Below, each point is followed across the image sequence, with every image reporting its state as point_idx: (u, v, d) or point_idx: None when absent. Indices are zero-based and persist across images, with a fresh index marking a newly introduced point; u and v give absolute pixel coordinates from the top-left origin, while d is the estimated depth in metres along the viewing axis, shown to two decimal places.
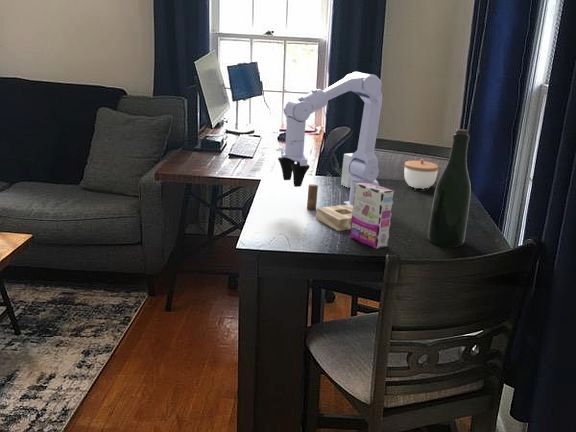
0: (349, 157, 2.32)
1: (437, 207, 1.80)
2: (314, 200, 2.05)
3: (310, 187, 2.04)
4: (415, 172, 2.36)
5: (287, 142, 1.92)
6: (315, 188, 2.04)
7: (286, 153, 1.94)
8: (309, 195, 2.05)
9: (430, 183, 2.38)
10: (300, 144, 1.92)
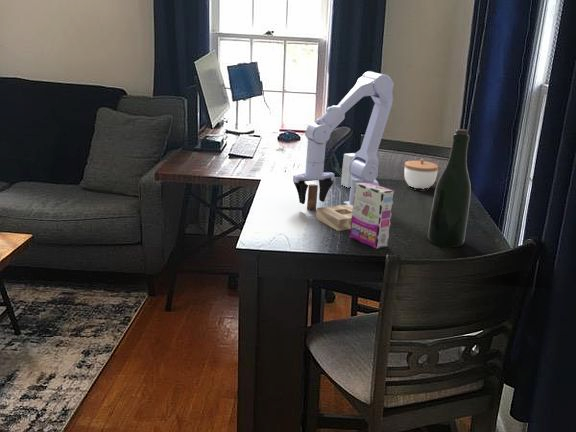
0: (349, 157, 2.32)
1: (437, 207, 1.80)
2: (314, 200, 2.05)
3: (310, 187, 2.04)
4: (415, 172, 2.36)
5: None
6: (315, 188, 2.04)
7: None
8: (309, 195, 2.05)
9: (430, 183, 2.38)
10: (308, 164, 2.01)
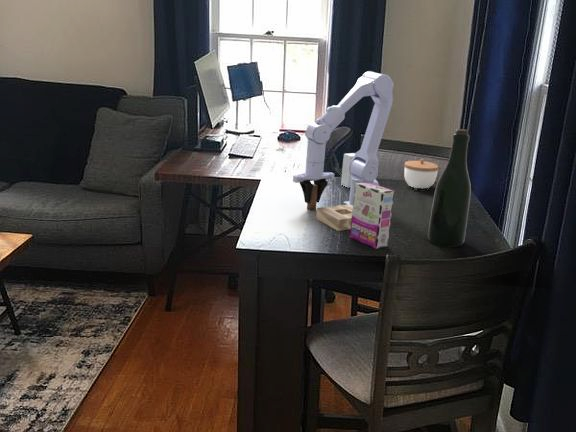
0: (349, 157, 2.32)
1: (437, 207, 1.80)
2: (314, 200, 2.05)
3: None
4: (415, 172, 2.36)
5: None
6: (315, 188, 2.04)
7: None
8: None
9: (430, 183, 2.38)
10: (308, 164, 2.01)
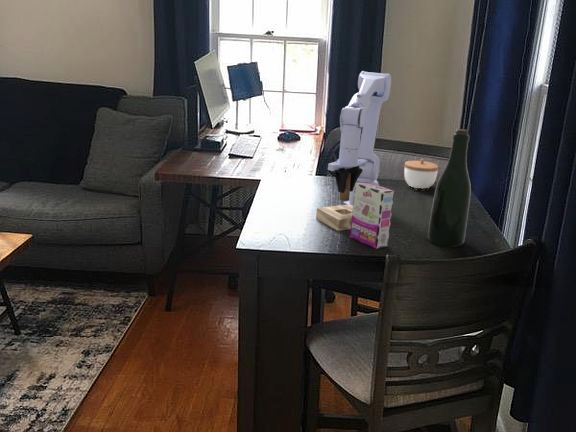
0: None
1: (437, 207, 1.80)
2: (348, 189, 1.92)
3: None
4: (415, 172, 2.36)
5: None
6: (349, 176, 1.91)
7: None
8: None
9: (430, 183, 2.38)
10: (344, 151, 1.87)
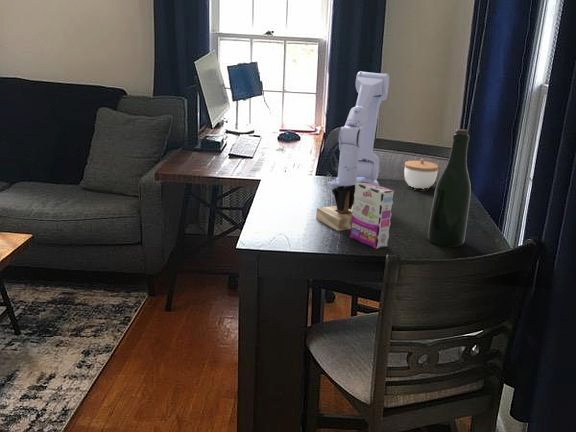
0: None
1: (437, 207, 1.80)
2: (347, 207, 1.94)
3: None
4: (415, 172, 2.36)
5: None
6: (348, 194, 1.93)
7: None
8: None
9: (430, 183, 2.38)
10: (342, 169, 1.89)
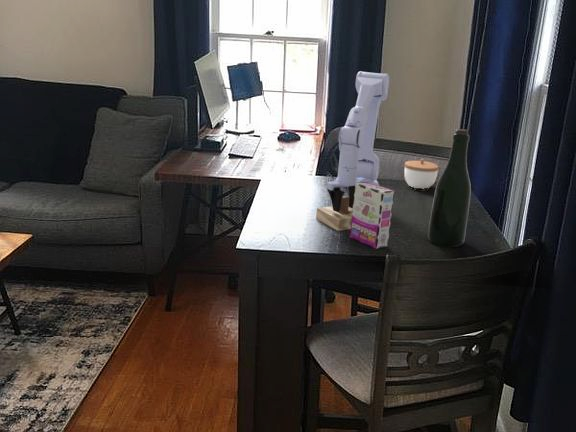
0: None
1: (437, 207, 1.80)
2: (346, 212, 1.94)
3: (342, 199, 1.93)
4: (415, 172, 2.36)
5: None
6: (348, 200, 1.93)
7: None
8: (341, 207, 1.94)
9: (430, 183, 2.38)
10: (342, 170, 1.89)
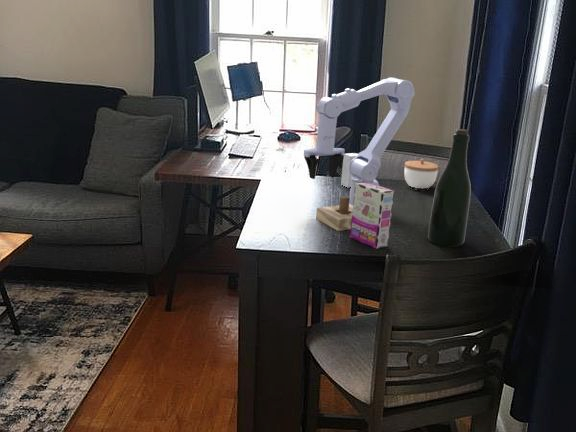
0: (349, 157, 2.32)
1: (437, 207, 1.80)
2: (346, 213, 1.94)
3: (343, 199, 1.93)
4: (415, 172, 2.36)
5: None
6: (348, 200, 1.93)
7: None
8: (341, 208, 1.94)
9: (430, 183, 2.38)
10: (319, 139, 2.00)
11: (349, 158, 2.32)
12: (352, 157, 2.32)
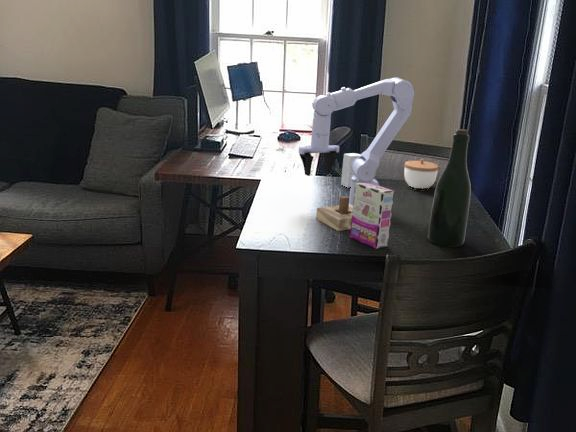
0: (349, 157, 2.32)
1: (437, 207, 1.80)
2: (346, 213, 1.94)
3: (342, 199, 1.93)
4: (415, 172, 2.36)
5: None
6: (348, 200, 1.93)
7: None
8: (341, 208, 1.94)
9: (430, 183, 2.38)
10: (314, 136, 2.04)
11: (349, 158, 2.32)
12: (352, 157, 2.32)
